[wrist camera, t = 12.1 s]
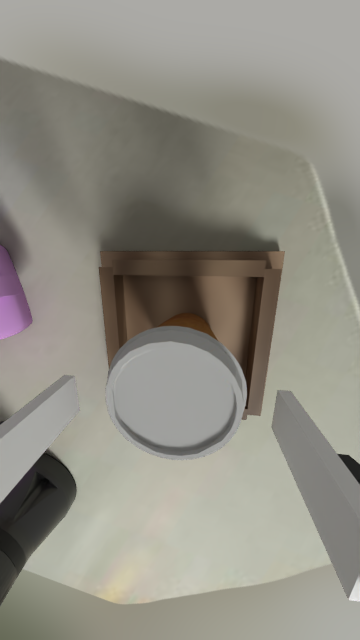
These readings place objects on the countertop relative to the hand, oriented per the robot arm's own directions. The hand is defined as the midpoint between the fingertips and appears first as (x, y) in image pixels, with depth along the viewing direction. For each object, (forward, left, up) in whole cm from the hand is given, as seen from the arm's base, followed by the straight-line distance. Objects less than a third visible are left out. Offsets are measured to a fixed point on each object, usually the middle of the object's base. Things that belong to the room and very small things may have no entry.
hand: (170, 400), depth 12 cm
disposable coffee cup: (0, 0, -12) cm, 12 cm away
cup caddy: (0, 0, -13) cm, 13 cm away
